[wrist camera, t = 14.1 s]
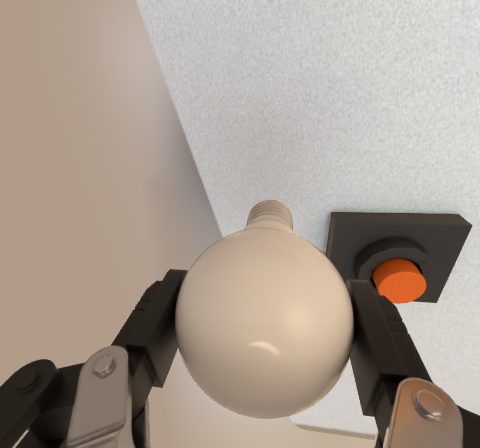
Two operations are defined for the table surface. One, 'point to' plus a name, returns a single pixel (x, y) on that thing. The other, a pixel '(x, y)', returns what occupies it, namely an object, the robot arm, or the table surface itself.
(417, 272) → the button
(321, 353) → the lightbulb
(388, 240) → the housing
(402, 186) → the table surface
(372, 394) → the robot arm
